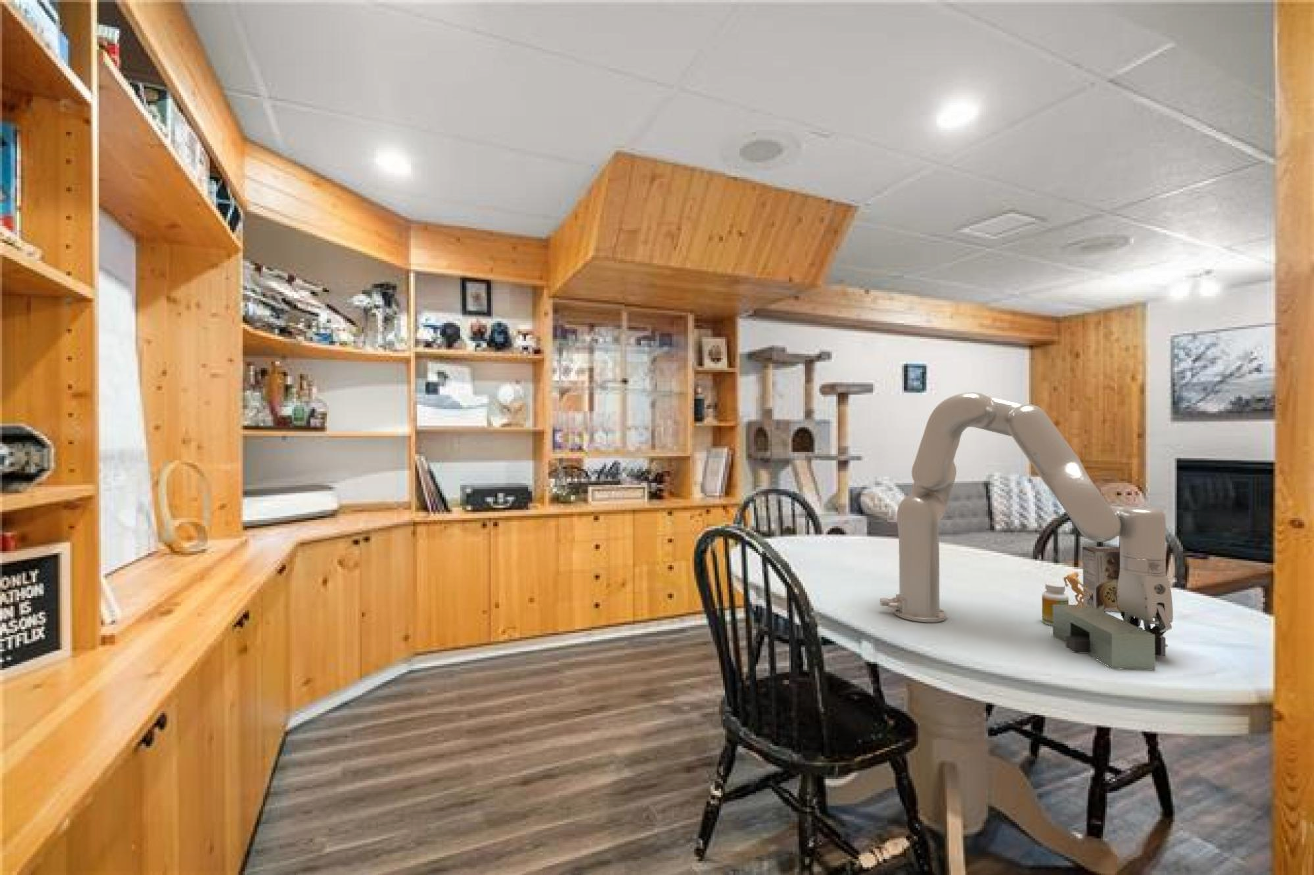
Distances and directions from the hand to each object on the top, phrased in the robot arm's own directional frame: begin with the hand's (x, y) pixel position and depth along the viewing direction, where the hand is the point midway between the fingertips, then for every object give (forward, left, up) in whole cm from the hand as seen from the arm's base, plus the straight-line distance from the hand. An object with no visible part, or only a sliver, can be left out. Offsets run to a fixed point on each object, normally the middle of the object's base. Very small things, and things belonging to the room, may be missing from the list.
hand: (1142, 649), depth 123 cm
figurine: (0, +22, -1) cm, 22 cm away
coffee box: (+13, +32, -1) cm, 35 cm away
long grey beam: (-5, 0, -1) cm, 5 cm away
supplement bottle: (-8, +18, -1) cm, 20 cm away
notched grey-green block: (-9, 0, -1) cm, 9 cm away
